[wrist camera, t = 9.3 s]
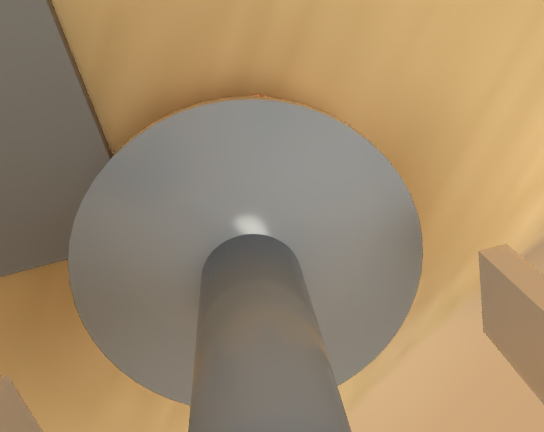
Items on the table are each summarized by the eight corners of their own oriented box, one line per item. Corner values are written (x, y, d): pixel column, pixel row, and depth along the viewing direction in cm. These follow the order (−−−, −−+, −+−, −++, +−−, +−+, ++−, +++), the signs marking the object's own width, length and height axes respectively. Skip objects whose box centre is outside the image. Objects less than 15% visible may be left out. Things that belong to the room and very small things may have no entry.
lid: (13, 151, 15) (-238, 314, 7) (389, 52, 15) (591, 97, 7) (146, 423, 20) (94, 704, 12) (427, 351, 20) (569, 583, 12)
